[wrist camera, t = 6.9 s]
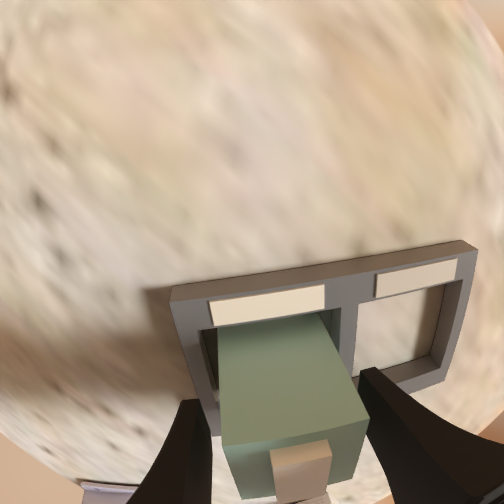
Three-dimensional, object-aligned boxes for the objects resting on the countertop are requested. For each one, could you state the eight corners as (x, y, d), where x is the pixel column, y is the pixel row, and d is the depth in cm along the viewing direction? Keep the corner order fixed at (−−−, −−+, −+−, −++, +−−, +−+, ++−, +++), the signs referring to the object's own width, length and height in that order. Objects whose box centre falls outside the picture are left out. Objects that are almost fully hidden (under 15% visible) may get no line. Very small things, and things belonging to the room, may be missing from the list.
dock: (211, 418, 15) (212, 438, 14) (172, 286, 12) (168, 303, 11) (434, 368, 16) (444, 381, 14) (462, 240, 13) (479, 250, 11)
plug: (231, 388, 14) (243, 513, 8) (217, 321, 13) (222, 464, 7) (314, 375, 14) (356, 491, 8) (314, 306, 13) (377, 434, 7)
